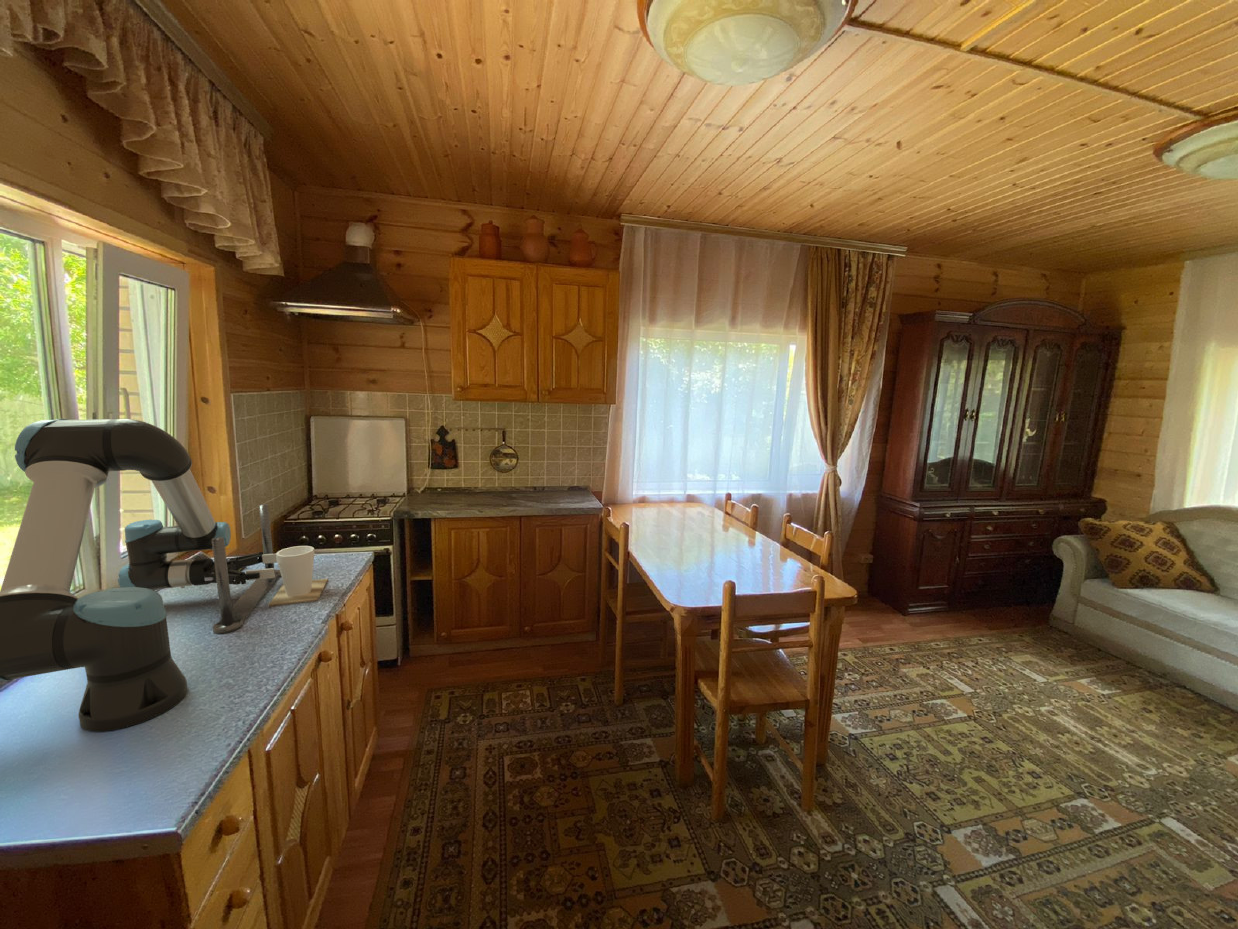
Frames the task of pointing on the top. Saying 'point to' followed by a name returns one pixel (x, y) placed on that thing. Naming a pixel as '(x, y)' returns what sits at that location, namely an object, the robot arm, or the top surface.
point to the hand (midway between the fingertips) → (281, 564)
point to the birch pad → (309, 597)
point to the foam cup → (296, 569)
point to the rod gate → (243, 607)
